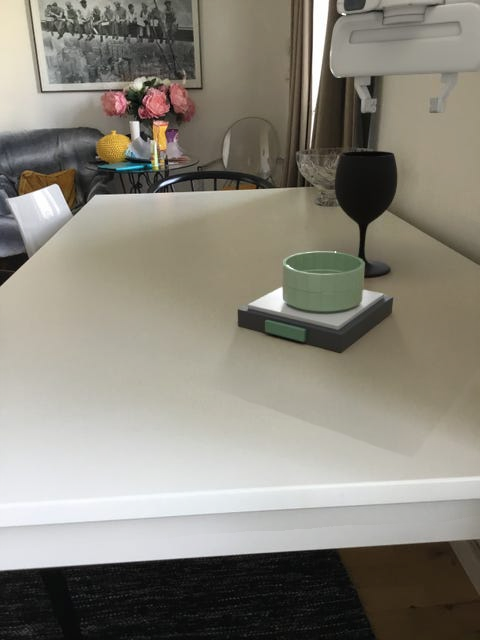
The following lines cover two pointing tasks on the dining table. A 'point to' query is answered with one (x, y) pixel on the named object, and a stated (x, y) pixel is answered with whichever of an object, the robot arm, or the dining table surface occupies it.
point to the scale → (315, 320)
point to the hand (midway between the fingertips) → (401, 112)
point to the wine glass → (366, 194)
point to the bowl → (323, 281)
